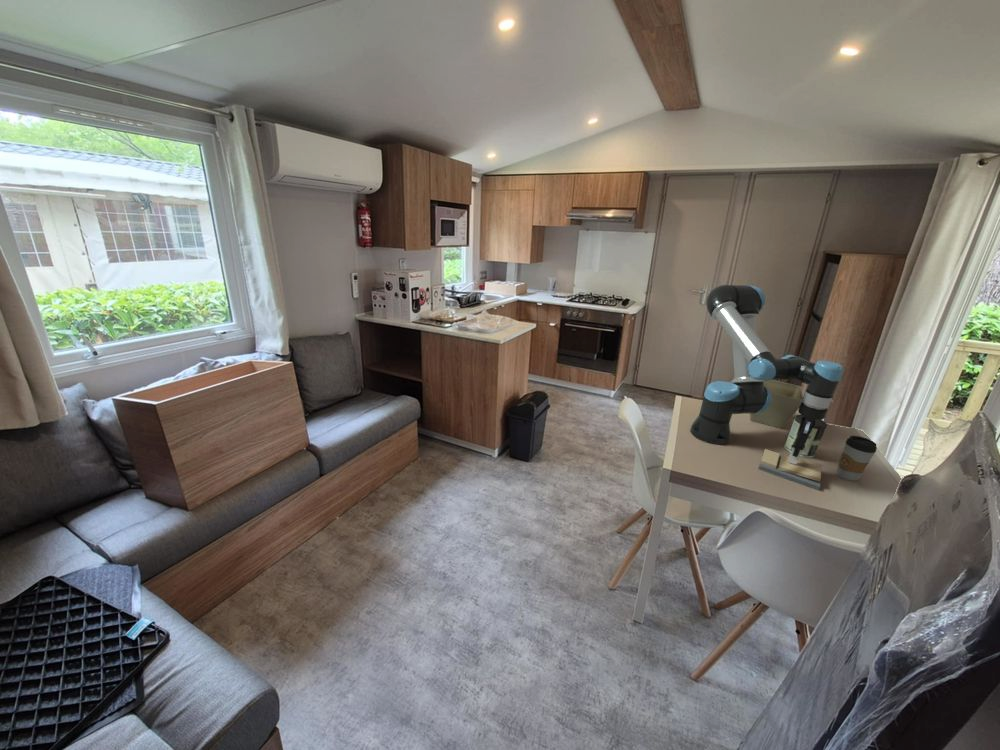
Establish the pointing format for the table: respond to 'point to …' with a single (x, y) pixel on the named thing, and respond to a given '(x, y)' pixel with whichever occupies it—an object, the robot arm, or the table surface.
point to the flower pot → (779, 404)
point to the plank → (801, 468)
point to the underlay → (771, 465)
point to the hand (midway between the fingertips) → (791, 462)
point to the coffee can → (811, 441)
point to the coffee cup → (855, 457)
